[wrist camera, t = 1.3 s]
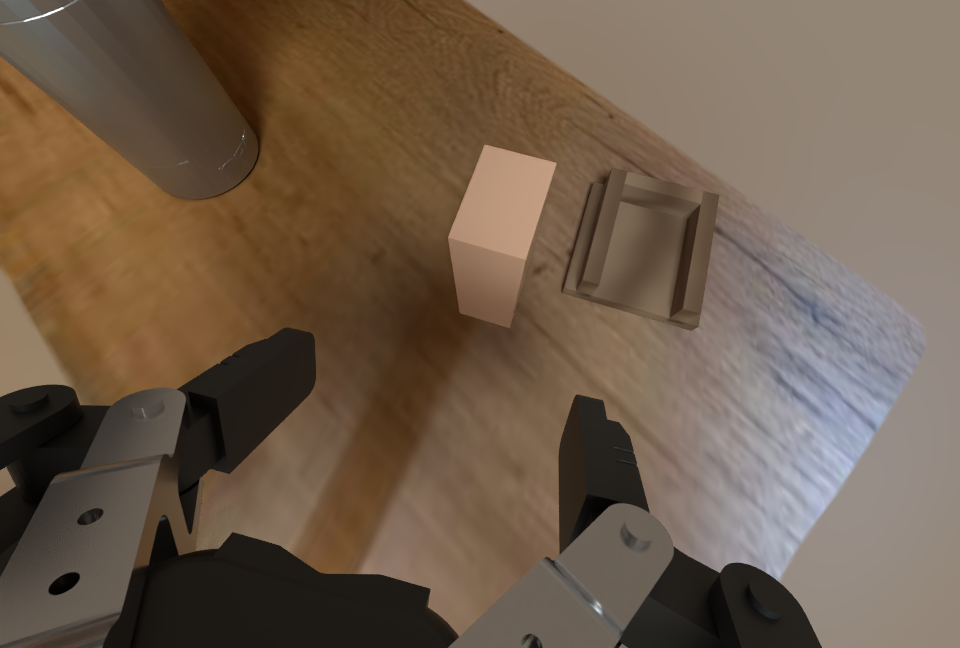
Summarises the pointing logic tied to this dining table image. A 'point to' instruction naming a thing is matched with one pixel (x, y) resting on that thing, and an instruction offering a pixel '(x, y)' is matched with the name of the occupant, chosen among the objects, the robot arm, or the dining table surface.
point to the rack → (644, 248)
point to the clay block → (498, 232)
